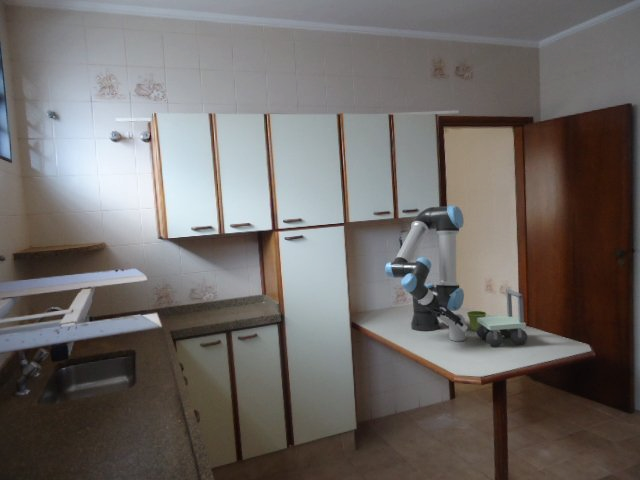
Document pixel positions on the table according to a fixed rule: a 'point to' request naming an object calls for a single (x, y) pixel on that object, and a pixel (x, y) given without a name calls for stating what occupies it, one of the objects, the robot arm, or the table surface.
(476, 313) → the plant pot
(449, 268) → the robot arm
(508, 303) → the trolley
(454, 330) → the can
